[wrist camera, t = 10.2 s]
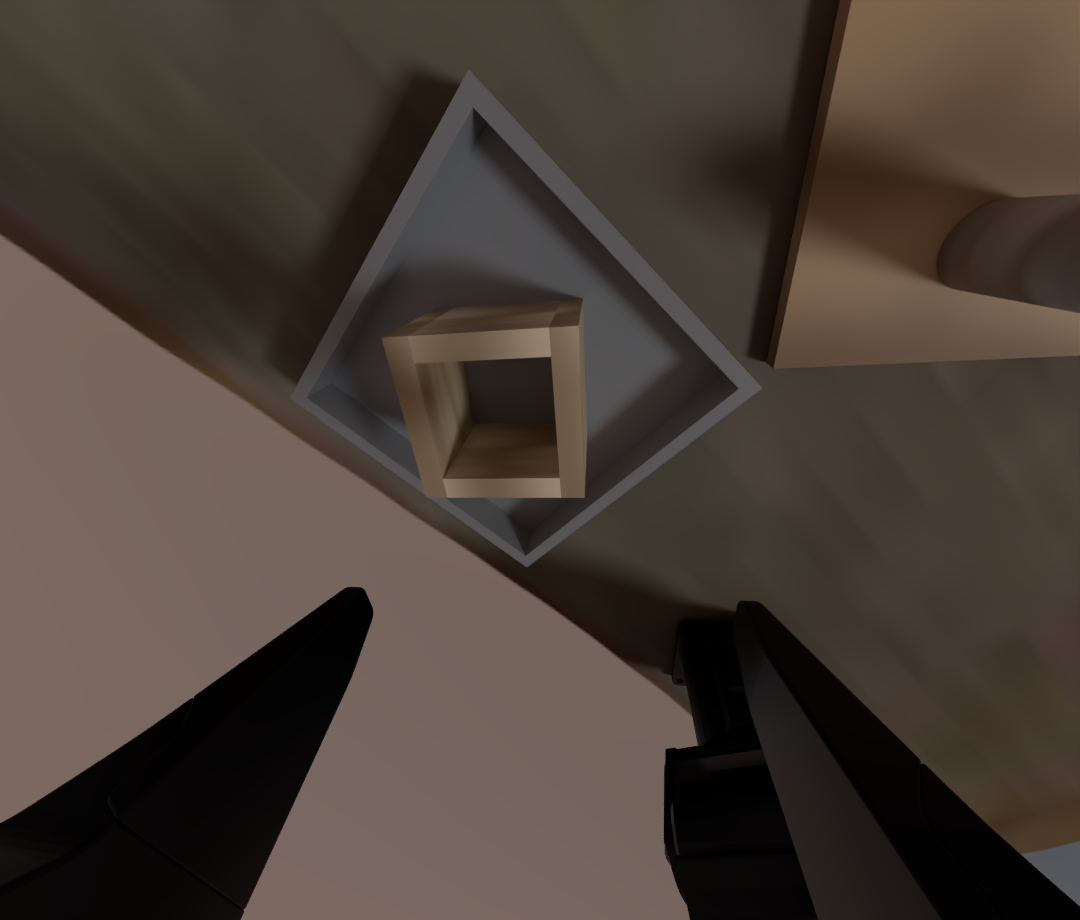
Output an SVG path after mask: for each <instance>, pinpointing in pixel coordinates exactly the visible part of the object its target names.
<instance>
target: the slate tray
mask: <svg viewBox="0 0 1080 920" xmlns="http://www.w3.org/2000/svg"><path fill="white" fill-rule="evenodd" d="M571 299H583V314H584V349H585V383H586V417H587V452H586V476H585V498H430V499H432V500H433V501H434V502H436V503H437V504H439V505H440V506H441V507H443V508H444V509H446V510H447V511H448V512H450V513H451V514H453V515H454V516H455V517H457V518H458V519H460V520H461V521H462V522H464V523H465V524H467V525H468V526H469V527H471V528H472V529H474V530H475V531H476V532H478V533H479V534H481V535H482V536H483V537H485V538H486V539H488V540H489V541H490V542H492V543H493V544H495V545H496V546H497V547H499V548H500V549H502V550H503V551H504V552H506V553H507V554H509V555H510V556H511V557H513V558H514V559H516V560H517V561H518V562H520V563H521V564H523V565H524V566H525V567H528V566H530V565H531V564H532V563H534V562H535V561H536V560H538V559H539V558H540V557H542V556H543V555H544V554H545V553H547V552H548V551H549V550H551V549H552V548H553V547H555V546H556V545H557V544H559V543H560V542H561V541H563V540H564V539H565V538H566V537H568V536H569V535H570V534H572V533H573V532H574V531H576V530H577V529H578V528H580V527H581V526H582V525H584V524H585V523H586V522H587V521H589V520H590V519H591V518H593V517H594V516H595V515H597V514H598V513H599V512H601V511H602V510H603V509H605V508H606V507H607V506H608V505H610V504H611V503H612V502H614V501H615V500H616V499H618V498H619V497H620V496H622V495H623V494H624V493H626V492H627V491H628V490H629V489H631V488H632V487H633V486H635V485H636V484H637V483H639V482H640V481H641V480H643V479H644V478H645V477H647V476H648V475H649V474H650V473H652V472H653V471H654V470H656V469H657V468H658V467H660V466H661V465H662V464H664V463H665V462H666V461H668V460H669V459H670V458H671V457H673V456H674V455H675V454H677V453H678V452H679V451H681V450H682V449H683V448H685V447H686V446H687V445H689V444H690V443H691V442H692V441H694V440H695V439H696V438H698V437H699V436H700V435H702V434H703V433H704V432H706V431H707V430H708V429H710V428H711V427H712V426H713V425H715V424H716V423H717V422H719V421H720V420H721V419H723V418H724V417H725V416H727V415H728V414H729V413H731V412H732V411H733V410H734V409H736V408H737V407H738V406H740V405H741V404H742V403H744V402H745V401H746V400H748V399H749V398H750V397H752V396H753V395H754V394H755V393H757V392H758V391H759V390H761V389H762V387H761V386H760V385H759V384H758V383H757V382H756V381H755V380H754V379H753V378H752V376H751V375H750V374H749V373H748V372H747V371H746V370H745V369H744V368H743V367H742V366H741V364H740V363H739V362H738V361H737V360H736V359H735V358H734V357H733V356H732V355H731V354H730V353H729V351H728V350H727V349H726V348H725V347H724V346H723V345H722V344H721V343H720V342H719V341H718V340H717V338H716V337H715V336H714V335H713V334H712V333H711V332H710V331H709V330H708V329H707V328H706V326H705V325H704V324H703V323H702V322H701V321H700V320H699V319H698V318H697V317H696V316H695V315H694V313H693V312H692V311H691V310H690V309H689V308H688V307H687V306H686V305H685V304H684V303H683V302H682V300H681V299H680V298H679V297H678V296H677V295H676V294H675V293H674V292H673V291H672V290H671V288H670V287H669V286H668V285H667V284H666V283H665V282H664V281H663V280H662V279H661V278H660V277H659V275H658V274H657V273H656V272H655V271H654V270H653V269H652V268H651V267H650V266H649V265H648V264H647V262H646V261H645V260H644V259H643V258H642V257H641V256H640V255H639V254H638V253H637V252H636V250H635V249H634V248H633V247H632V246H631V245H630V244H629V243H628V242H627V241H626V240H625V239H624V237H623V236H622V235H621V234H620V233H619V232H618V231H617V230H616V229H615V228H614V227H613V225H612V224H611V223H610V222H609V221H608V220H607V219H606V218H605V217H604V216H603V215H602V214H601V212H600V211H599V210H598V209H597V208H596V207H595V206H594V205H593V204H592V203H591V202H590V201H589V199H588V198H587V197H586V196H585V195H584V194H583V193H582V192H581V191H580V190H579V189H578V187H577V186H576V185H575V184H574V183H573V182H572V181H571V180H570V179H569V178H568V177H567V176H566V174H565V173H564V172H563V171H562V170H561V169H560V168H559V167H558V166H557V165H556V164H555V163H554V161H553V160H552V159H551V158H550V157H549V156H548V155H547V154H546V153H545V152H544V151H543V149H542V148H541V147H540V146H539V145H538V144H537V143H536V142H535V141H534V140H533V139H532V138H531V136H530V135H529V134H528V133H527V132H526V131H525V130H524V129H523V128H522V127H521V126H520V125H519V123H518V122H517V121H516V120H515V119H514V118H513V117H512V116H511V115H510V114H509V113H508V111H507V110H506V109H505V108H504V107H503V106H502V105H501V104H500V103H499V102H498V101H497V100H496V98H495V97H494V96H493V95H492V94H491V93H490V92H489V91H488V90H487V89H486V88H485V86H484V85H483V84H482V83H481V82H480V81H479V80H478V79H477V78H476V77H475V76H474V75H473V73H472V72H471V71H470V70H468V71H467V73H466V75H465V77H464V79H463V81H462V82H461V84H460V86H459V88H458V90H457V92H456V93H455V95H454V97H453V99H452V101H451V103H450V104H449V106H448V108H447V110H446V112H445V114H444V116H443V117H442V119H441V121H440V123H439V125H438V127H437V128H436V130H435V132H434V134H433V136H432V138H431V139H430V141H429V143H428V145H427V147H426V149H425V150H424V152H423V154H422V156H421V158H420V160H419V162H418V163H417V165H416V167H415V169H414V171H413V173H412V174H411V176H410V178H409V180H408V182H407V184H406V185H405V187H404V189H403V191H402V193H401V195H400V196H399V198H398V200H397V202H396V204H395V206H394V208H393V209H392V211H391V213H390V215H389V217H388V219H387V220H386V222H385V224H384V226H383V228H382V230H381V231H380V233H379V235H378V237H377V239H376V241H375V242H374V244H373V246H372V248H371V250H370V252H369V254H368V255H367V257H366V259H365V261H364V263H363V265H362V266H361V268H360V270H359V272H358V274H357V276H356V277H355V279H354V281H353V283H352V285H351V287H350V288H349V290H348V292H347V294H346V296H345V298H344V299H343V301H342V303H341V305H340V307H339V309H338V311H337V312H336V314H335V316H334V318H333V320H332V322H331V323H330V325H329V327H328V329H327V331H326V333H325V334H324V336H323V338H322V340H321V342H320V344H319V345H318V347H317V349H316V351H315V353H314V355H313V357H312V358H311V360H310V362H309V364H308V366H307V368H306V369H305V371H304V373H303V375H302V377H301V379H300V380H299V382H298V384H297V386H296V388H295V390H294V391H293V393H292V395H291V397H290V399H291V400H293V401H294V402H296V403H297V404H298V405H300V406H301V407H303V408H304V409H305V410H307V411H308V412H310V413H311V414H312V415H314V416H315V417H317V418H318V419H319V420H321V421H322V422H324V423H325V424H326V425H328V426H329V427H331V428H332V429H333V430H335V431H336V432H338V433H339V434H340V435H342V436H343V437H345V438H346V439H347V440H349V441H350V442H352V443H353V444H354V445H356V446H357V447H359V448H360V449H361V450H363V451H364V452H366V453H367V454H368V455H370V456H371V457H373V458H374V459H375V460H377V461H378V462H380V463H381V464H382V465H384V466H385V467H387V468H388V469H389V470H391V471H392V472H394V473H395V474H396V475H398V476H399V477H401V478H402V479H403V480H405V481H406V482H408V483H409V484H410V485H412V486H413V487H415V488H416V489H417V490H419V491H420V492H422V493H423V494H424V495H425V491H424V488H423V484H422V481H421V477H420V474H419V470H418V466H417V463H416V459H415V456H414V452H413V448H412V445H411V441H410V438H409V434H408V431H407V427H406V423H405V420H404V416H403V413H402V409H401V406H400V402H399V398H398V395H397V391H396V388H395V384H394V381H393V377H392V373H391V370H390V366H389V363H388V359H387V356H386V352H385V348H384V345H383V341H382V337H384V336H386V335H388V334H390V333H391V332H393V331H395V330H397V329H399V328H401V327H402V326H404V325H406V324H408V323H410V322H412V321H414V320H415V319H417V318H419V317H421V316H423V315H425V314H426V313H428V312H430V311H432V310H434V309H444V308H458V307H472V306H486V305H500V304H514V303H528V302H542V301H556V300H571ZM464 363H465V369H466V374H467V380H468V385H469V391H470V396H471V402H472V407H473V413H474V418H475V424H488V423H526V422H556V419H555V405H554V391H553V377H552V363H551V357H535V358H516V359H496V360H476V361H464Z"/></svg>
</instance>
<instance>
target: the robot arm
mask: <svg viewBox="0 0 1080 920" xmlns="http://www.w3.org/2000/svg"><path fill="white" fill-rule="evenodd" d="M372 618H373V608H372V605H371V603H370V601H369V598H368V596H367V594H366V592H365V590H364V589H363V588H361V587H347V588H345V589H343V590H342V591H340V592H339V593H337V594H336V595H335V596H333V597H332V598H330V599H329V600H328V601H326V602H325V603H323V604H322V605H321V606H319V607H318V608H317V609H315V610H314V611H312V612H311V613H310V614H308V615H307V616H305V617H304V618H303V619H301V620H300V621H298V622H297V623H296V624H294V625H293V626H291V627H290V628H289V629H287V630H286V631H284V632H283V633H282V634H280V635H279V636H278V637H276V638H275V639H273V640H272V641H271V642H269V643H268V644H266V645H265V646H264V647H262V648H261V649H259V650H258V651H257V652H255V653H254V654H252V655H251V656H250V657H248V658H247V659H245V660H244V661H243V662H241V663H240V664H238V665H237V666H236V667H235V668H233V669H231V670H230V671H229V672H227V673H226V674H224V675H223V676H222V677H220V678H219V679H218V680H216V681H215V682H213V683H212V684H211V685H209V686H208V687H206V688H205V689H203V690H202V691H201V692H199V693H198V694H196V695H195V696H194V698H192V699H189V700H188V701H187V702H185V703H184V704H182V705H181V706H180V707H178V708H177V709H175V710H174V711H173V712H172V713H170V714H168V715H167V716H166V717H164V718H163V719H161V720H160V721H158V722H157V723H155V724H154V725H153V726H151V727H150V728H148V729H147V730H145V731H144V732H143V733H141V734H140V735H138V736H137V737H135V738H134V739H132V740H131V741H129V742H128V743H126V744H125V745H123V746H122V747H120V748H118V749H117V750H116V751H114V752H112V753H111V754H109V755H108V756H106V757H105V758H103V759H102V760H100V761H99V762H97V763H95V764H94V765H92V766H91V767H89V768H88V769H86V770H85V771H83V772H82V773H80V774H79V775H77V776H75V777H74V778H72V779H71V780H69V781H68V782H66V783H65V784H63V785H62V786H60V787H58V788H57V789H55V790H54V791H52V792H51V793H49V794H48V795H46V796H45V797H43V798H41V799H40V800H38V801H37V802H36V803H34V804H32V805H31V806H29V807H27V808H26V809H24V810H22V811H21V812H19V813H18V814H16V815H14V816H13V817H11V818H9V819H7V820H5V821H3V822H2V823H0V920H241V918H242V915H243V913H244V910H243V909H245V908H246V906H247V904H248V902H249V899H250V897H251V895H252V893H253V891H254V889H255V887H256V884H257V882H258V880H259V878H260V876H261V874H262V871H263V869H264V867H265V865H266V863H267V861H268V858H269V856H270V854H271V852H272V850H273V848H274V845H275V843H276V841H277V839H278V836H279V834H280V832H281V830H282V828H283V826H284V823H285V821H286V819H287V817H288V815H289V813H290V811H291V808H292V806H293V804H294V802H295V800H296V798H297V795H298V793H299V791H300V789H301V787H302V784H303V782H304V780H305V778H306V775H307V774H308V772H309V769H310V767H311V765H312V763H313V761H314V758H315V756H316V754H317V752H318V750H319V747H320V745H321V743H322V741H323V739H324V737H325V735H326V732H327V730H328V728H329V726H330V723H331V722H332V719H333V717H334V715H335V713H336V711H337V709H338V706H339V704H340V702H341V700H342V698H343V695H344V693H345V691H346V689H347V687H348V684H349V682H350V680H351V677H352V675H353V672H354V669H355V667H356V664H357V661H358V658H359V656H360V653H361V650H362V647H363V644H364V641H365V639H366V636H367V633H368V630H369V627H370V624H371V621H372ZM671 676H672V681H673V683H674V684H676V685H682V686H687V692H688V697H689V702H690V707H691V712H692V717H693V722H694V727H695V733H696V738H697V743H698V746H694V747H687V748H681V749H676V748H669V749H666V761H665V767H664V768H665V769H664V843H665V855H666V859H667V861H668V863H669V864H670V865H671V868H672V872H673V875H674V878H675V881H676V884H677V887H678V889H679V892H680V894H681V896H682V898H683V900H684V902H685V903H686V904H687V908H688V912H689V917H690V920H1080V906H1078V905H1077V904H1076V903H1075V902H1074V901H1073V900H1072V899H1071V898H1069V897H1068V896H1067V895H1066V894H1065V893H1064V892H1063V891H1061V890H1060V889H1059V888H1058V887H1057V886H1056V885H1055V884H1053V883H1052V882H1051V881H1050V880H1049V879H1048V878H1047V877H1045V876H1044V875H1043V874H1042V873H1041V872H1040V871H1039V870H1037V869H1036V868H1035V867H1034V866H1033V865H1032V864H1031V863H1030V862H1029V861H1027V860H1026V859H1025V858H1024V857H1023V856H1022V855H1021V854H1020V853H1019V852H1017V851H1016V850H1015V849H1014V848H1013V847H1012V846H1011V845H1010V844H1009V843H1007V842H1006V841H1005V840H1004V839H1003V838H1002V837H1001V836H1000V835H999V834H997V833H996V832H995V831H994V830H993V829H992V828H991V827H990V826H989V825H987V824H986V823H985V822H984V821H983V820H982V819H981V818H980V817H979V816H978V815H977V814H976V813H975V812H974V811H973V810H972V809H971V808H970V807H969V806H968V805H967V804H965V803H964V802H963V801H962V800H961V799H960V798H959V797H958V796H957V795H956V794H955V793H954V792H953V791H952V790H951V789H950V788H949V787H948V786H947V785H946V784H945V783H944V782H943V781H942V780H941V779H940V778H939V777H937V776H936V775H935V774H934V773H933V772H932V771H931V770H930V769H929V768H928V767H927V766H926V765H925V764H921V761H920V759H919V758H918V757H917V756H916V755H915V754H914V753H913V752H912V751H911V750H910V749H909V748H908V747H907V746H906V745H905V744H904V743H903V742H902V741H901V740H900V739H899V738H898V737H897V736H896V735H895V734H894V733H893V732H892V731H891V730H889V729H888V728H887V727H886V726H885V725H884V724H883V723H882V722H881V721H880V720H879V719H878V718H877V717H876V716H875V715H874V714H873V713H872V712H871V711H870V710H869V709H868V708H867V707H866V706H865V705H864V704H863V703H862V702H861V701H860V700H859V699H858V698H857V697H856V696H855V695H854V694H853V693H852V692H851V691H850V690H849V689H848V688H847V687H846V686H845V685H844V684H843V683H842V682H841V681H840V680H839V679H838V678H837V677H836V676H835V675H834V674H833V673H832V672H831V671H830V670H829V669H827V668H826V667H825V666H824V665H823V664H822V663H821V662H820V661H819V660H818V659H817V658H816V657H815V656H814V655H813V654H812V653H811V652H810V651H809V650H808V649H807V648H806V647H805V646H804V645H803V644H802V643H801V642H800V641H799V640H798V639H797V638H796V637H795V636H794V635H793V634H792V633H791V632H790V631H789V630H788V629H787V628H786V627H785V626H784V625H783V624H782V623H781V622H780V621H779V620H778V619H777V618H776V617H775V616H774V615H773V614H772V613H771V612H770V611H769V610H768V609H767V608H766V607H764V606H763V605H762V604H761V603H760V602H757V601H740V602H739V603H738V605H737V609H736V613H735V618H734V623H726V622H703V621H682V622H680V623H679V625H678V630H677V638H676V645H675V653H674V660H673V667H672V675H671Z"/></svg>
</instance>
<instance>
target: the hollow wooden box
mask: <svg viewBox="0 0 1080 920" xmlns="http://www.w3.org/2000/svg"><path fill="white" fill-rule="evenodd" d="M382 341H383V345H384V348H385V352H386V356H387V359H388V363H389V366H390V370H391V373H392V377H393V381H394V384H395V388H396V391H397V395H398V398H399V402H400V406H401V409H402V413H403V416H404V420H405V423H406V427H407V431H408V434H409V438H410V441H411V445H412V448H413V452H414V456H415V459H416V463H417V466H418V470H419V474H420V477H421V481H422V484H423V488H424V491H425V495H426V498H585V476H586V452H587V417H586V383H585V349H584V314H583V299H571V300H556V301H542V302H528V303H514V304H500V305H486V306H472V307H458V308H444V309H434V310H432V311H430V312H428V313H426V314H425V315H423V316H421V317H419V318H417V319H415V320H414V321H412V322H410V323H408V324H406V325H404V326H402V327H401V328H399V329H397V330H395V331H393V332H391V333H390V334H388V335H386V336H384V337H382ZM535 357H551V363H552V377H553V391H554V405H555V419H556V422H526V423H488V424H475V418H474V413H473V407H472V402H471V396H470V391H469V385H468V380H467V374H466V369H465V363H464V361H476V360H496V359H516V358H535Z"/></svg>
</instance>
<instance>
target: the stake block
mask: <svg viewBox="0 0 1080 920" xmlns="http://www.w3.org/2000/svg"><path fill="white" fill-rule="evenodd" d="M1057 356H1080V0H840V1H839V6H838V11H837V16H836V21H835V26H834V31H833V36H832V41H831V45H830V50H829V55H828V60H827V65H826V70H825V75H824V80H823V85H822V90H821V95H820V100H819V105H818V110H817V115H816V120H815V125H814V130H813V135H812V140H811V145H810V150H809V155H808V159H807V164H806V169H805V174H804V179H803V184H802V189H801V194H800V199H799V204H798V209H797V214H796V219H795V224H794V229H793V234H792V239H791V244H790V249H789V254H788V259H787V264H786V269H785V273H784V278H783V283H782V288H781V293H780V298H779V303H778V308H777V313H776V318H775V323H774V328H773V333H772V338H771V343H770V348H769V353H768V358H767V364H768V365H770V366H771V367H772V368H773V369H779V368H802V367H826V366H849V365H872V364H895V363H918V362H941V361H964V360H987V359H1011V358H1034V357H1057Z"/></svg>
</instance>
